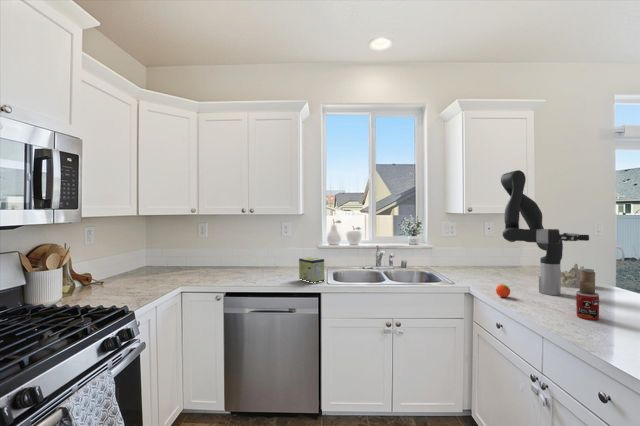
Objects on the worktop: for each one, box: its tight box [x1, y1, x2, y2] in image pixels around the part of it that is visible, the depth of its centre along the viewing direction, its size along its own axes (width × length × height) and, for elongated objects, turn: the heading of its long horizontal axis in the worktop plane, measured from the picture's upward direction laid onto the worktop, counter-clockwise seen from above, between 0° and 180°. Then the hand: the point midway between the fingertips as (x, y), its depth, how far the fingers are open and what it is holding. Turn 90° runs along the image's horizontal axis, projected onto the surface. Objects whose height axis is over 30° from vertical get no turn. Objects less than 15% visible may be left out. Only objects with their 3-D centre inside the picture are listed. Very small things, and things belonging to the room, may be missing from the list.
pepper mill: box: [579, 268, 596, 294], centre depth 140 cm, size 5×5×10 cm
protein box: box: [298, 256, 326, 283], centre depth 219 cm, size 10×16×16 cm
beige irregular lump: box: [560, 263, 585, 289], centre depth 199 cm, size 16×16×15 cm
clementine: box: [495, 283, 511, 298], centre depth 173 cm, size 8×7×7 cm
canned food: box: [575, 290, 600, 321], centre depth 140 cm, size 8×8×11 cm
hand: (589, 237), depth 153 cm, fingers open, 8 cm apart
